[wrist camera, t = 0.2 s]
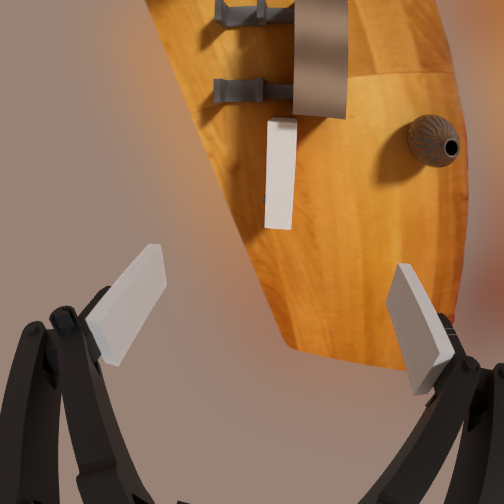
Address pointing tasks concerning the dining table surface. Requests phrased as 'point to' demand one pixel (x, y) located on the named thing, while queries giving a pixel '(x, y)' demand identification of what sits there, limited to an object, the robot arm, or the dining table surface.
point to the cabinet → (297, 56)
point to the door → (280, 172)
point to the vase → (433, 141)
